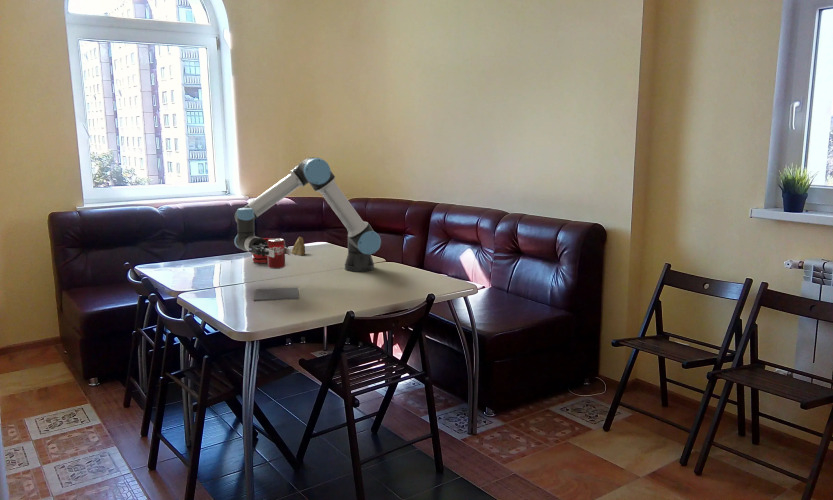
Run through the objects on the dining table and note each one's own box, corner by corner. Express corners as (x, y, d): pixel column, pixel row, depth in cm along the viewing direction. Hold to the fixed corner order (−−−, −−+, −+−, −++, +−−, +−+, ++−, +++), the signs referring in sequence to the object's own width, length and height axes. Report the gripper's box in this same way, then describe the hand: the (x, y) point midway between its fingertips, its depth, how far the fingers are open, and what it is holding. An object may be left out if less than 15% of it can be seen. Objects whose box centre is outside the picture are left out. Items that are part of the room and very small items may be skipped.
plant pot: (264, 258, 340) (263, 237, 338) (280, 261, 332) (280, 239, 330) (245, 262, 329) (244, 240, 327) (261, 265, 322) (260, 242, 320)
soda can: (269, 265, 265) (268, 238, 262) (286, 265, 265) (285, 238, 263) (266, 269, 257) (265, 241, 255) (284, 269, 258) (283, 241, 256)
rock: (309, 251, 348) (309, 246, 358) (300, 240, 346) (300, 235, 355) (294, 262, 349) (295, 257, 359) (284, 251, 346) (285, 246, 356)
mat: (297, 288, 273) (297, 287, 273) (298, 299, 255) (298, 297, 255) (255, 290, 269) (255, 289, 269) (254, 300, 252) (253, 299, 252)
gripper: (276, 251, 280) (303, 259, 264) (235, 256, 267) (260, 264, 250) (276, 235, 279) (302, 241, 262) (234, 239, 266) (259, 246, 249)
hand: (282, 253), depth 256 cm, fingers closed on soda can, 7 cm apart
